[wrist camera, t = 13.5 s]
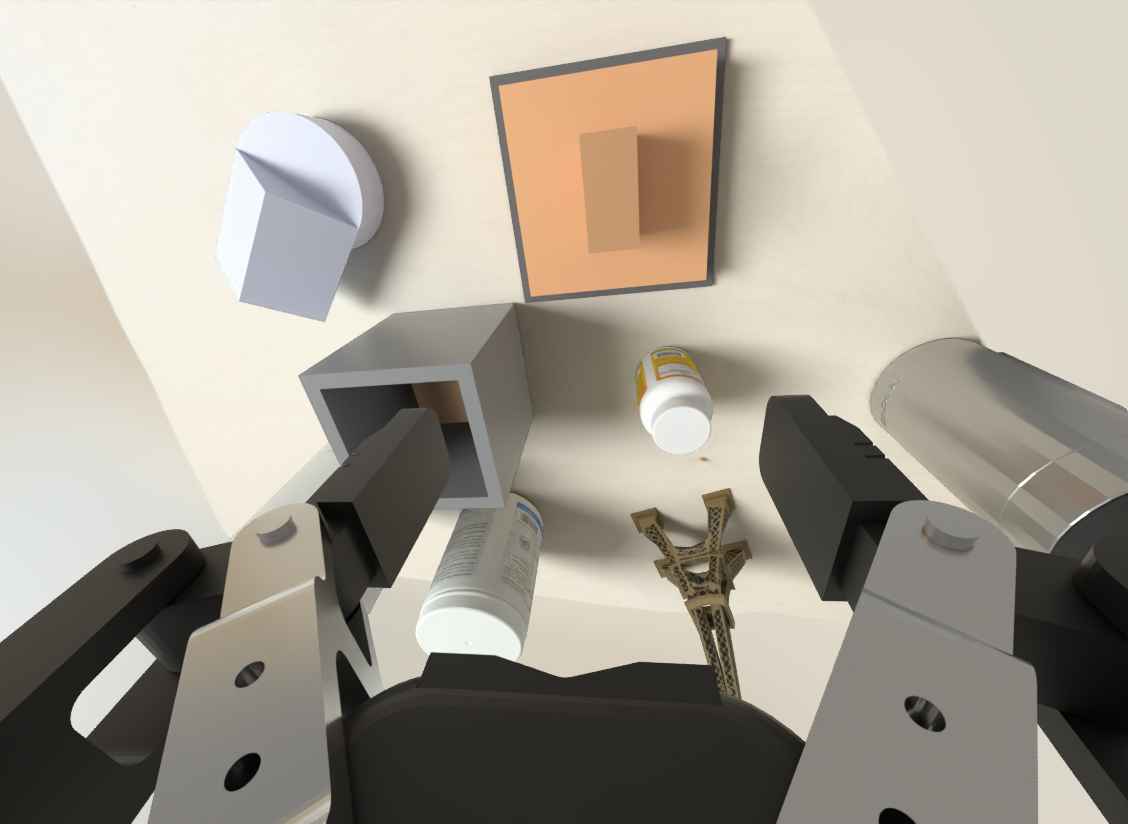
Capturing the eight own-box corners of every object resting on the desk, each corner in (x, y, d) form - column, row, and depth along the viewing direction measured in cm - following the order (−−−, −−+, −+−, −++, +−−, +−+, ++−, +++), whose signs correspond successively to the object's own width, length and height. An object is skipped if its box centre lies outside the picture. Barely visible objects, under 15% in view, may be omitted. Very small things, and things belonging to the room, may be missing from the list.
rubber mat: (724, 38, 26) (726, 36, 25) (710, 284, 33) (711, 285, 33) (490, 78, 28) (489, 76, 28) (526, 301, 35) (525, 302, 35)
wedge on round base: (347, 310, 37) (402, 169, 31) (298, 335, 31) (354, 169, 25) (247, 249, 35) (285, 87, 29) (175, 264, 29) (205, 66, 24)
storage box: (514, 302, 35) (470, 363, 24) (533, 415, 41) (505, 507, 29) (393, 313, 37) (298, 375, 26) (427, 420, 42) (360, 510, 31)
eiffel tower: (751, 556, 47) (871, 877, 26) (661, 575, 50) (700, 878, 29) (728, 487, 43) (848, 806, 21) (630, 513, 46) (649, 816, 24)
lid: (708, 58, 26) (744, 18, 19) (700, 273, 32) (724, 299, 26) (506, 92, 28) (473, 66, 21) (535, 289, 34) (517, 318, 27)
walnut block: (487, 338, 37) (467, 365, 32) (498, 388, 40) (481, 421, 34) (434, 343, 38) (406, 370, 33) (448, 392, 40) (424, 424, 35)
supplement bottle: (660, 410, 39) (675, 475, 31) (622, 372, 38) (626, 430, 29) (709, 374, 37) (738, 434, 29) (670, 332, 35) (689, 382, 27)
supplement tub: (461, 540, 50) (411, 664, 38) (464, 479, 46) (408, 598, 33) (540, 554, 50) (517, 683, 38) (551, 495, 46) (529, 620, 33)
